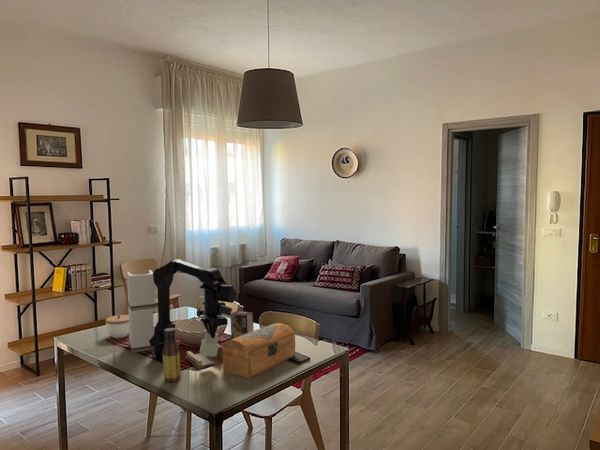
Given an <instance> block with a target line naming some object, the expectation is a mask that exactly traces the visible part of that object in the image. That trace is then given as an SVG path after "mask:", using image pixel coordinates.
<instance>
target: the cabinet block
mask: <svg viewBox="0 0 600 450" xmlns="http://www.w3.org/2000/svg"><path fill="white" fill-rule="evenodd" d="M219 335H220V334H219V333H218V334H217V333H216V334H215V337H214V338H211V335H210V333H206V332H205V334H204V338H203V339H201V342H200V348H199V353H202V354H203V355H204V356H217V351H218V346H219V345H220V343H219V342H217V340H218V341H219Z"/></svg>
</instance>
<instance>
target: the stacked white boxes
mask: <svg viewBox="0 0 600 450" xmlns="http://www.w3.org/2000/svg"><path fill="white" fill-rule="evenodd" d="M126 272H127V273H126V277H127V279H126V280H127V299H128V300H127V303H128V304H127V305H128V306H127V307H128V308H127V309H128V315H129V333H128V335H129V337H128V338H129V347H130V350H131V353H132V354H133V353H141V352H147V351H153V350H152V349H153V346H151V345H150V343H149V340H150V339H151V338H152V337H153V336H154V330H155V327H154V312H156V309H157V307H156V285H155V283H154V279H153V270H151V269H149V270H148V273H146V274H133V273H131V272H130V271H126ZM146 350H147V351H146Z"/></svg>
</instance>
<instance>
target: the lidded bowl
mask: <svg viewBox="0 0 600 450" xmlns="http://www.w3.org/2000/svg"><path fill="white" fill-rule="evenodd" d="M105 328H106V331H107V333H108V335H110V336H111V337H112V338H113V339H120V338H121V339H122V338H125V337H127V336H128V335H129V314H121V313H118V314H117V315H116V314H115V315H112V316H109V317H107V318H106V319H105Z"/></svg>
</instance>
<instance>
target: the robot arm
mask: <svg viewBox="0 0 600 450" xmlns="http://www.w3.org/2000/svg"><path fill="white" fill-rule="evenodd" d="M152 272H153V279H154V283H155V288H157V322H156V324H155V327H154V336H153V337H152V338H151V339H150V340H149V343H150V345H151V346H153V350H152V353H153V354H152V355H151V356H152V358H153V359H154V360H155V361H159V360H160V361H161V360H163V352H162V351H163V348H164V344H165V334H164V330H165V329H167V328H175V329H176V323H172V321H171V302H170V299H171V298H170V297H171V295H170V294H171V293H170V290H171V289H170V287H171V286H172V283H173V281H174V275H175V274H176V273H178V272H180V273H184V274H186V275H189V276H192V277H195V278H196V279H198V281H199V282H201V283H202V284H201V285H200V286H199V289H202V290H204V291H203V293H204V298H203V299H204V301H202V305H203V306H204V307H203V308H198V309H197V310H196V317H198V318H200V317H201V316H202V318H201V319H200V321H201V322H202V324H203V326H204V328H205V331H206V330H207V333H210V335H211V338H214V337H215V334H216V331H217V328H218V326H219V327H220V326H226V325H229V324H228V323H229V321H228V318H227V317H226V316H229V317H230V315H231V314H232V313H233V307H231V306H228V305H226V303H231V304H232V303H234V302H235V301H236V299H237V292H236V289H235V288H234V285H232V284H228V285H227V283H226V281H225V279H224V277H223V275H222V274H221V271H220V270H219V269H218V268H216V267H215V268H213V267H202V266H199V265H196V264H193V263H191V262H187V261H184V260H182V259H180V258H176V259H173V260H171V261H169V262H167V263H166V264H165V265H163V266H161V267H159V268H156V269H154V270H152ZM222 314H223V315H225V316H223V315H222ZM218 315H219V316H218ZM175 334H176V330H175Z"/></svg>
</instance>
